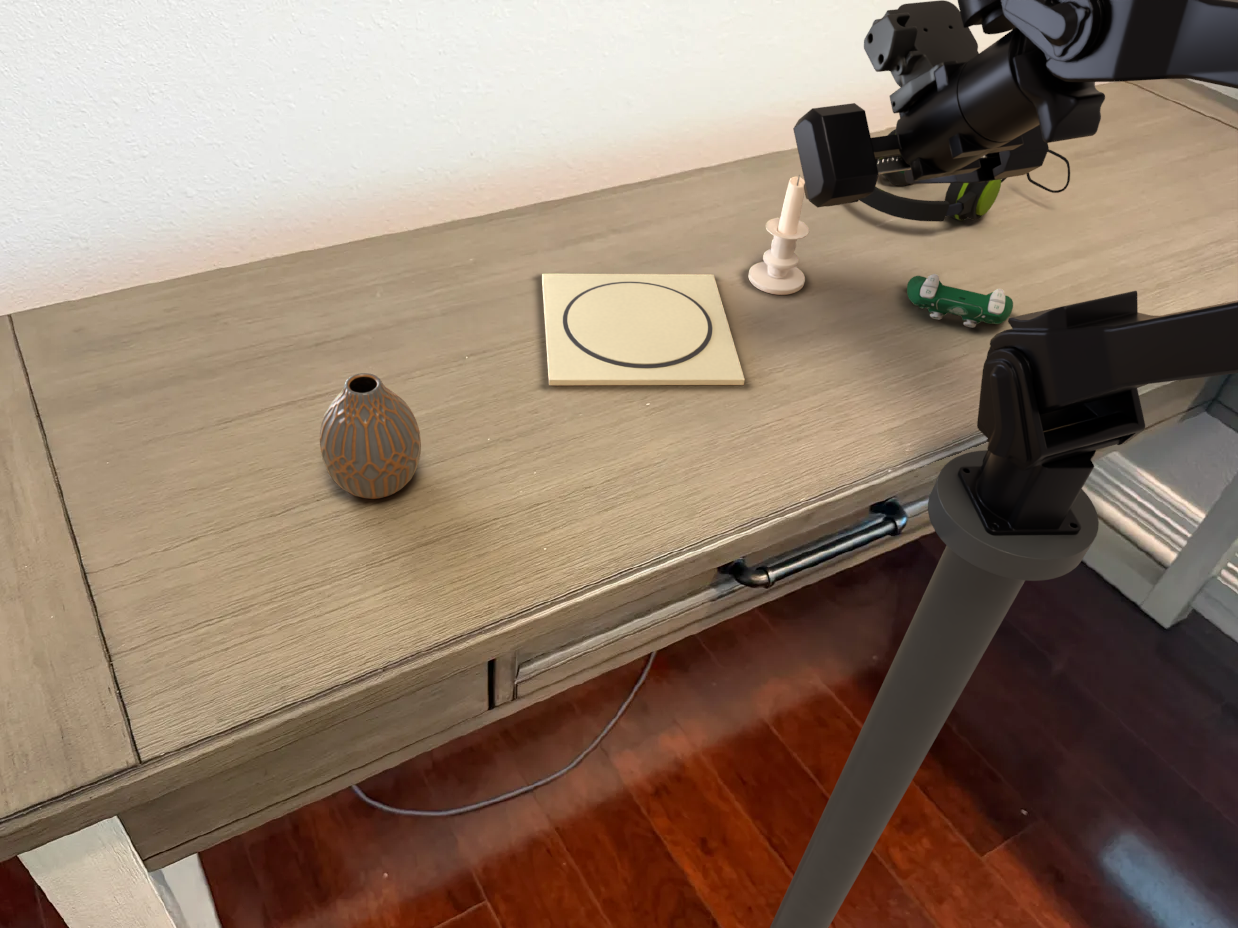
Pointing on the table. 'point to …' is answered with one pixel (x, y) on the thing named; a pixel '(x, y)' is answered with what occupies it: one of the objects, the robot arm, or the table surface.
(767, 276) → the candle
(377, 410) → the vase
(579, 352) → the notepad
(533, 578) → the table surface
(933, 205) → the headphones
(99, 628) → the table surface
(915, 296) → the gaming controller
